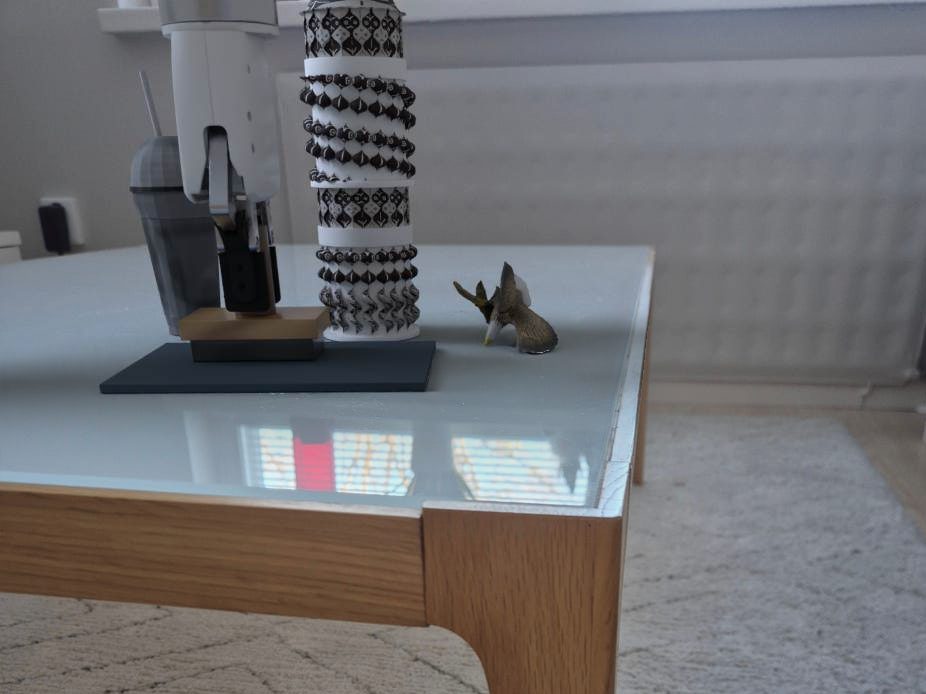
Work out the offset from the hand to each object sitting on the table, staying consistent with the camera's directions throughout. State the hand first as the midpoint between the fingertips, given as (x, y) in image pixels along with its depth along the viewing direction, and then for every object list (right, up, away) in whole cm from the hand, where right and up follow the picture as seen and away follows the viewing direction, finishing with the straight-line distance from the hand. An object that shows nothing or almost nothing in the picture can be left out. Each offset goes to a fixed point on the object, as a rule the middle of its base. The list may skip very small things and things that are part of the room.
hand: (254, 304), depth 70 cm
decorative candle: (+7, +2, +13) cm, 15 cm away
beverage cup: (-9, +3, +14) cm, 17 cm away
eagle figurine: (+19, -1, +8) cm, 21 cm away
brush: (0, -3, +2) cm, 4 cm away
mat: (+2, -5, 0) cm, 5 cm away
